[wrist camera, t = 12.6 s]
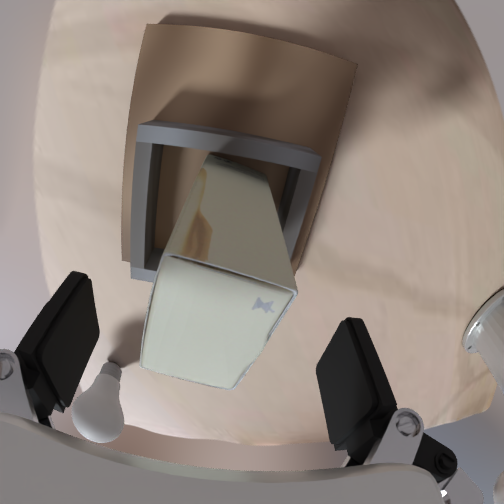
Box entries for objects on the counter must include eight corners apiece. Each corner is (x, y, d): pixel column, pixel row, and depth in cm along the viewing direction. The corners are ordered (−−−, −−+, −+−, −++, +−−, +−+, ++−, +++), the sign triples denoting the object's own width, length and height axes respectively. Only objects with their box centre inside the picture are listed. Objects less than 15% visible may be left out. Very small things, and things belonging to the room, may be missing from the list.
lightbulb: (103, 340, 29) (74, 421, 19) (145, 367, 31) (128, 447, 22) (85, 360, 31) (59, 430, 21) (123, 383, 33) (106, 453, 24)
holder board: (349, 65, 16) (377, 60, 13) (287, 277, 25) (296, 311, 21) (152, 28, 14) (131, 13, 11) (127, 251, 23) (109, 282, 19)
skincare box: (206, 151, 18) (161, 239, 7) (268, 173, 19) (307, 284, 8) (179, 233, 21) (134, 371, 10) (234, 251, 22) (234, 395, 11)
